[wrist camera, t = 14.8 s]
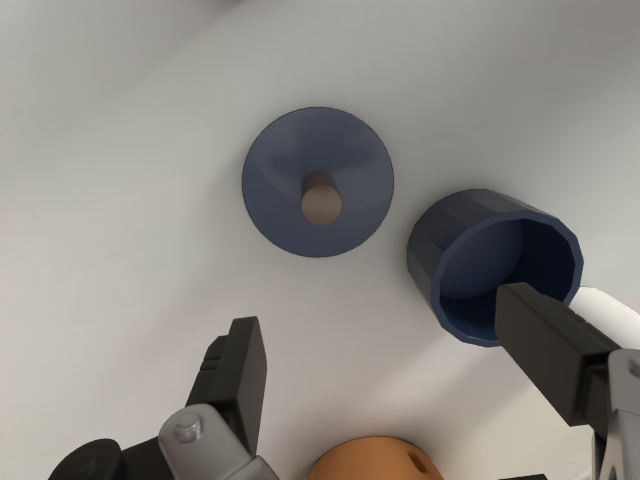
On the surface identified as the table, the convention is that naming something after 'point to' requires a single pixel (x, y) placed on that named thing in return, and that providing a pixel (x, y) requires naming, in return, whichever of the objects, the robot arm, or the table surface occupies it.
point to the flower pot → (375, 461)
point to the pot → (488, 259)
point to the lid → (317, 182)
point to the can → (608, 316)
